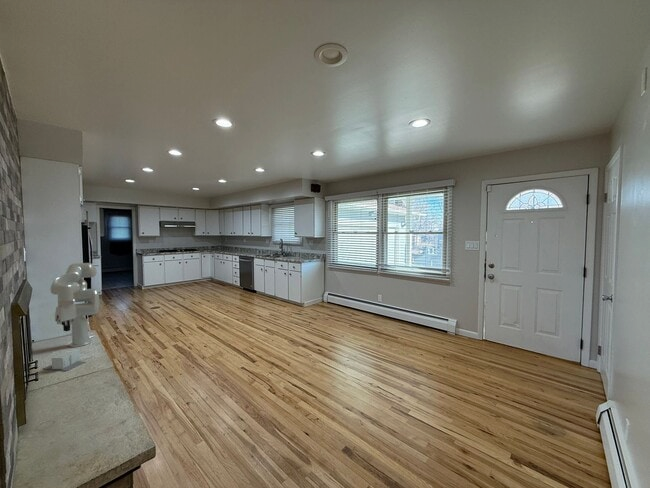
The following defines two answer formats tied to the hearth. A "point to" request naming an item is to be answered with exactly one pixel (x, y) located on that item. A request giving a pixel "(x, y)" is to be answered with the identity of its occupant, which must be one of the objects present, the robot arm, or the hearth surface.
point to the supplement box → (65, 359)
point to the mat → (66, 367)
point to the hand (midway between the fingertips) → (67, 330)
